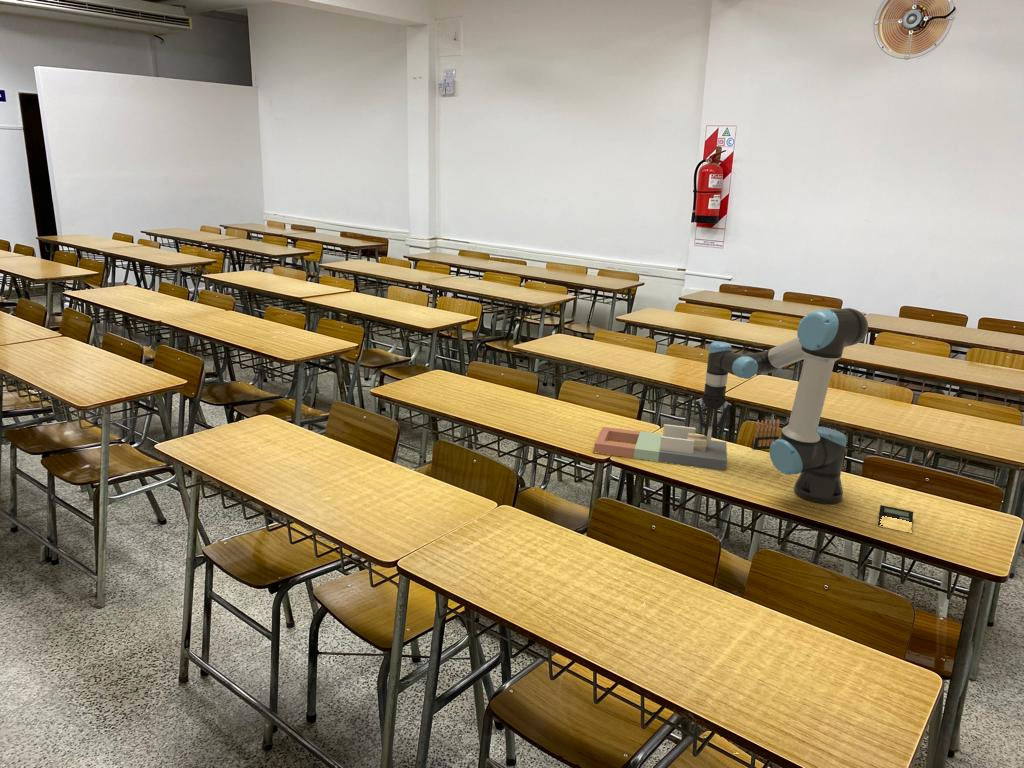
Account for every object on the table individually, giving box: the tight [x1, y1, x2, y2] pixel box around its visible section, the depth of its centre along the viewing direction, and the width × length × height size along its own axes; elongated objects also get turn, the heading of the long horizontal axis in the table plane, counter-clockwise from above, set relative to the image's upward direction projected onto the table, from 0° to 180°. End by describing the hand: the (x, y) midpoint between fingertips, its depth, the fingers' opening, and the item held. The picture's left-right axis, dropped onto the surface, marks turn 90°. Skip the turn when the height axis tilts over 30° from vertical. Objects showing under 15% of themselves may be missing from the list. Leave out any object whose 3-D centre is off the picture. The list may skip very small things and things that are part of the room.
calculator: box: [877, 504, 914, 526], centre depth 223 cm, size 9×12×3 cm
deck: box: [593, 424, 728, 472], centre depth 272 cm, size 20×48×9 cm, turn 74°
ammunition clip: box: [751, 418, 780, 451], centre depth 281 cm, size 11×2×12 cm, turn 103°
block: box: [687, 433, 707, 452], centre depth 269 cm, size 7×7×4 cm
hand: (708, 444), depth 268 cm, fingers closed
